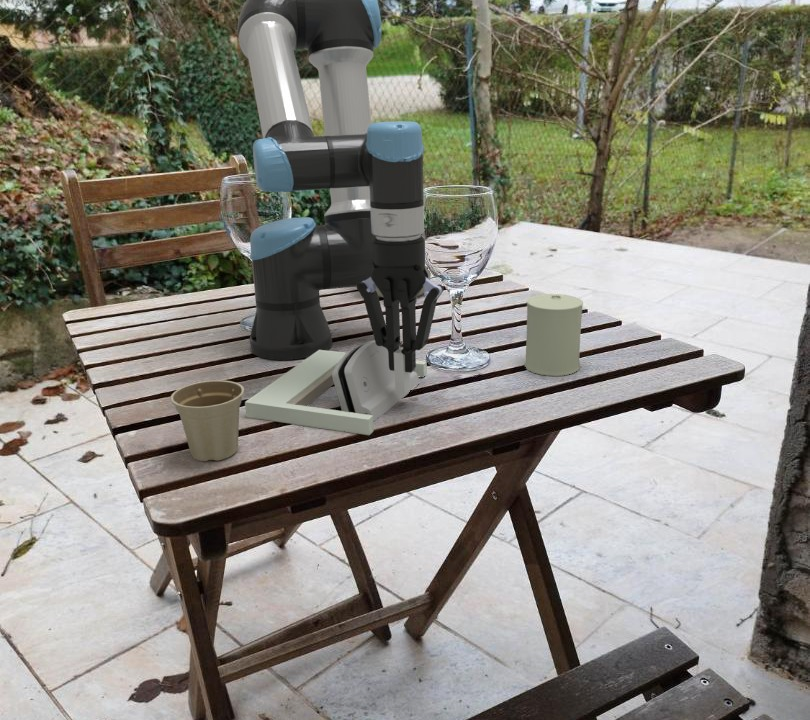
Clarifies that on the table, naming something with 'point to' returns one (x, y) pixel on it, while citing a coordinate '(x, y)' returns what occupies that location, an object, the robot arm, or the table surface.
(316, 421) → the beige flat angled piece
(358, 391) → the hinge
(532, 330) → the can
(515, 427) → the table surface
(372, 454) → the table surface
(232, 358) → the table surface
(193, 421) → the flower pot
